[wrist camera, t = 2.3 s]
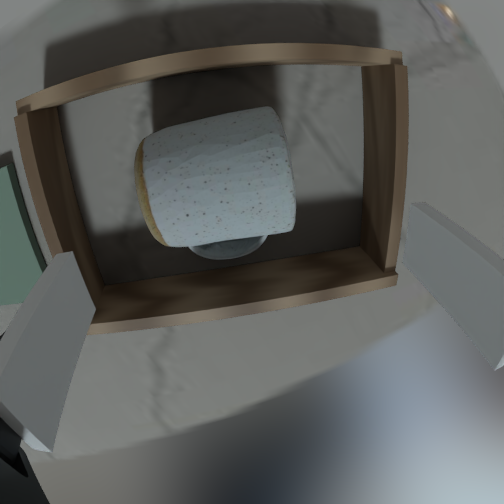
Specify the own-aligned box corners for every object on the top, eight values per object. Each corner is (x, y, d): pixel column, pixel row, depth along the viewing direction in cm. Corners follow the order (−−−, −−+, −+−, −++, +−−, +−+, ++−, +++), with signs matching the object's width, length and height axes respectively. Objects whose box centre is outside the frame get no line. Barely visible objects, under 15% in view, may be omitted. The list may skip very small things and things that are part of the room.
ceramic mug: (143, 129, 19) (114, 151, 13) (261, 102, 20) (292, 110, 13) (182, 260, 25) (178, 326, 18) (282, 237, 25) (312, 295, 18)
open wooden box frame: (98, 296, 25) (84, 335, 20) (43, 97, 17) (7, 102, 12) (368, 254, 27) (396, 285, 23) (372, 54, 19) (410, 50, 14)
